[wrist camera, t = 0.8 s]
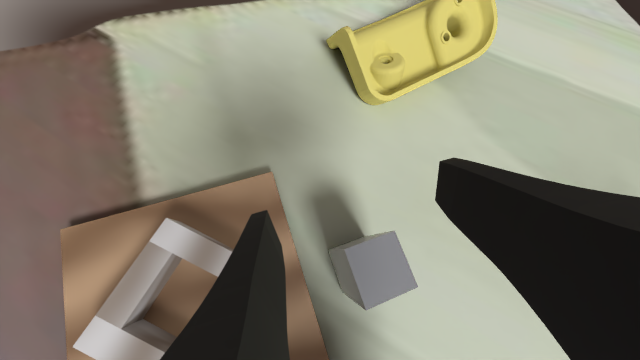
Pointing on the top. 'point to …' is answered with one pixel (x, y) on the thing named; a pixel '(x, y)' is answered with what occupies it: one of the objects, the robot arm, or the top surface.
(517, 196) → the robot arm
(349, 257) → the grey rectangular block
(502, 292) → the top surface
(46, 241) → the top surface
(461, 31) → the plastic component
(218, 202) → the duct base
